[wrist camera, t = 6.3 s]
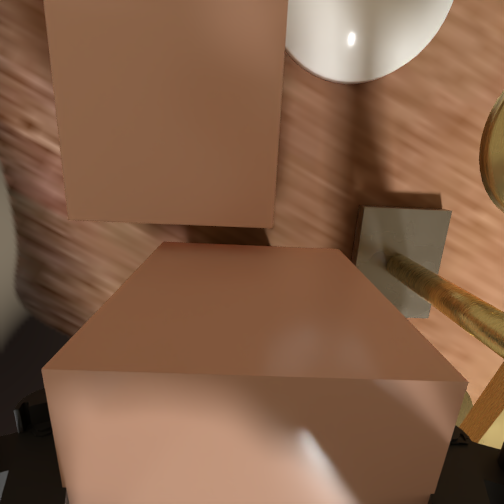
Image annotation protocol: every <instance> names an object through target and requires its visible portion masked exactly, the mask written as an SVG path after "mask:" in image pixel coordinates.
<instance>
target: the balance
mask: <svg viewBox="0 0 504 504" xmlns="http://www.w3.org/2000/svg"><path fill="white" fill-rule="evenodd" d="M479 164H480V173H481V178H482V182H483V184H484V187H485V190H486V192H487V193H488V195H489V197H490V199H491V200H492V201H493V203H494V204H495V205H496V206H497V207H498V208H499V209H500V210H501V211H502V212H503V213H504V91H503V92H502V94H501V95H500V97H499V98H498V99H497V101H496V103H495V105H494V106H493V108H492V110H491V112H490V114H489V117H488V119H487V121H486V124H485V127H484V130H483V134H482V138H481V144H480V153H479ZM451 213H452V211H450V210H446V209H435V208H412V207H390V206H367V205H359V209H358V216H357V223H356V231H355V238H354V245H353V252H352V259H351V262H352V263H353V264H354V265H355V266H356V267H357V268H358V269H359V270H360V271H361V272H362V273H363V274H364V275H365V276H366V278H367V279H368V280H369V281H370V282H371V283H372V284H373V285H374V286H375V287H376V288H377V289H378V290H379V291H380V292H381V293H382V294H383V295H384V296H385V297H386V298H387V299H388V300H389V301H390V302H391V303H392V304H393V305H394V306H395V307H396V308H397V309H398V310H399V311H400V312H401V313H402V314H403V315H404V316H405V317H406V318H428V317H429V312H430V308H431V305H432V306H434V307H435V308H436V309H438V310H439V311H440V312H442V313H443V314H444V315H446V316H447V317H448V318H450V319H451V320H452V321H454V322H455V323H456V324H458V325H459V326H460V327H462V328H463V329H465V330H466V331H467V332H469V333H470V334H471V335H473V336H474V337H475V338H477V339H478V340H479V341H481V342H482V343H483V344H485V345H486V346H487V347H489V348H490V349H491V350H493V351H494V352H495V353H497V354H498V355H499V356H501V357H502V358H504V312H503V311H501V310H499V309H497V308H496V307H494V306H492V305H490V304H488V303H487V302H485V301H483V300H481V299H480V298H478V297H476V296H474V295H473V294H471V293H469V292H467V291H465V290H464V289H462V288H460V287H458V286H457V285H455V284H453V283H451V282H450V281H448V280H446V279H444V278H443V277H441V276H439V275H438V271H439V267H440V262H441V258H442V253H443V249H444V244H445V240H446V235H447V231H448V226H449V222H450V217H451ZM456 426H458V427H459V428H461V429H462V430H463V431H464V432H465V433H466V434H467V435H468V436H469V438H470V439H471V441H473V442H476V443H479V444H483V445H486V446H490V447H493V448H497V449H501V447H502V445H503V442H504V362H503V363H502V365H501V366H500V368H499V369H498V371H497V372H496V374H495V375H494V377H493V378H492V379H491V381H490V382H489V384H488V385H487V387H486V388H485V390H484V391H483V393H482V394H481V396H480V397H479V398H478V400H477V401H476V403H475V404H474V406H473V404H472V401H471V398H470V396H469V394H468V393H467V391H466V392H465V395H464V398H463V402H462V405H461V408H460V412H459V415H458V418H457V421H456Z"/></svg>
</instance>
